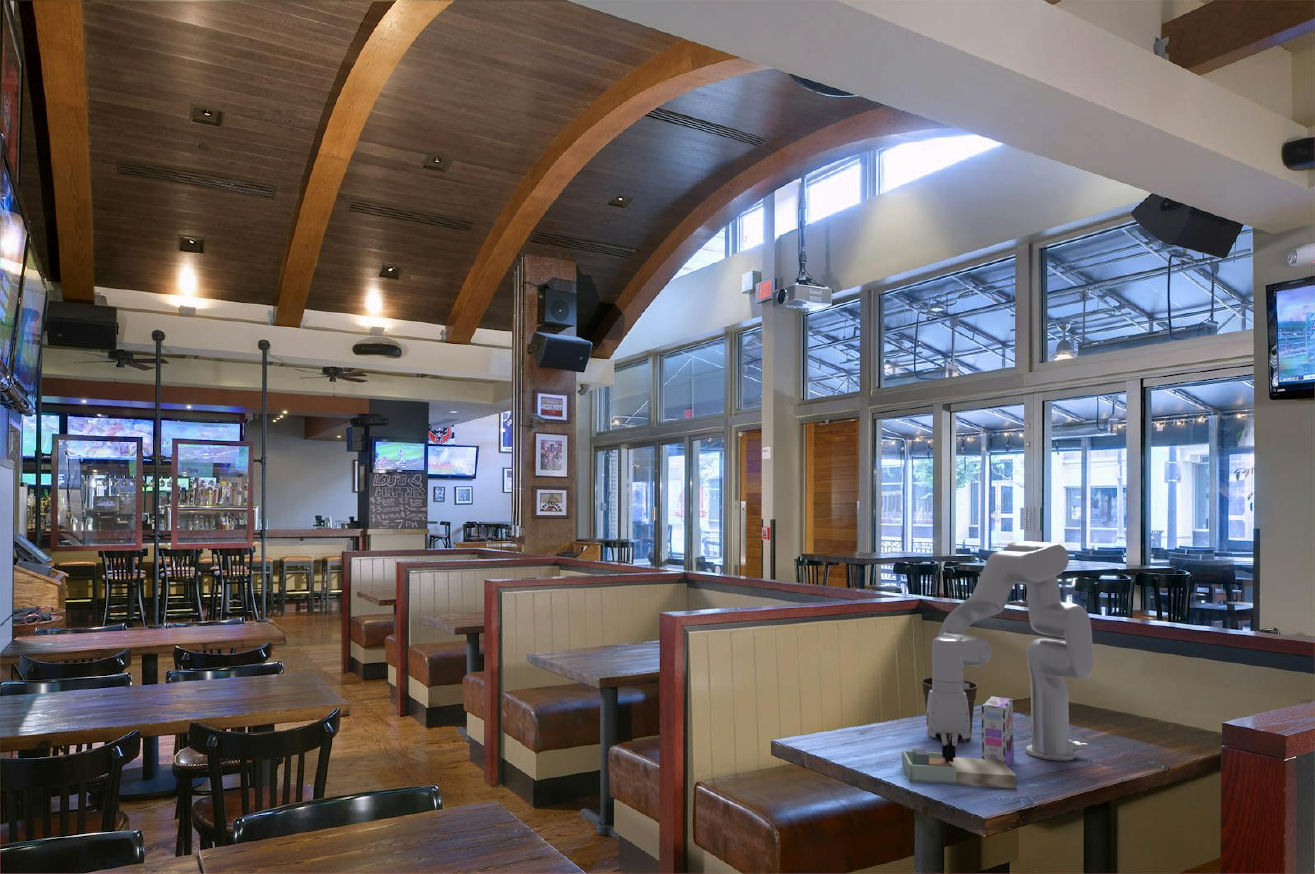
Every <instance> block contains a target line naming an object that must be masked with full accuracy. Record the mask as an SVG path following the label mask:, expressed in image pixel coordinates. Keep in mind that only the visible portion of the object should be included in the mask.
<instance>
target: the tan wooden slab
mask: <svg viewBox="0 0 1315 874" xmlns="http://www.w3.org/2000/svg"><path fill="white" fill-rule="evenodd" d="M948 763H949V764H950V767H956V777H957V785H956V786H973V787H974V786H975V787H988V788H989V787H990V788H993V787H994V788H1004V789H1005V788H1007V789H1008V788H1009V789H1017V775H1016V774H1015V773H1014V771H1013V770H1011V768H1010V766H1009V767H1008V766H1007V765H1006V764H1005V763H1004V762H1003V761H1002V760H994V759H982V758H975V757H974V758H973V757H957V756H955V758H953V762H950V761H949V762H948Z"/></svg>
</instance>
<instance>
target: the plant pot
mask: <svg viewBox="0 0 1315 874" xmlns="http://www.w3.org/2000/svg"><path fill="white" fill-rule="evenodd" d="M963 681H964V682H966V683H969V688H966V689H965V690H964V692H965V693H966V696H967V700H968V707H969V716H970V735H971V737H970V738H966V739H962V740H961V741H959V742H958V743H959V744H962V743H966V742H970V741H971V740H972V730H973V720H974V719H973V717H974V709H975V701H976V699H977V690H978V688H979V685H978V683H976V682H974V681H971V680H966V679H963ZM920 683H921V684H922V691H923V695H924V701H925V711H926V714H927V701H928V694H929V690H933V684H932V677H924V678H922V679H921V680H920ZM950 735H951V733H946V739H947V742H948V743H949V741H950ZM929 738H931V739H934V740H936V739H937V738H935V737H931V736H929ZM937 740H938V739H937ZM958 743H957V744H958Z"/></svg>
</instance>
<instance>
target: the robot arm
mask: <svg viewBox="0 0 1315 874" xmlns="http://www.w3.org/2000/svg"><path fill="white" fill-rule="evenodd" d="M1069 561H1070V556H1069V553H1068V550H1067V549H1066V548H1065V546H1063V545H1062V544H1059V543H1055V542H1043V541H1027V540H1022V541H1021V540H1020V541H1019V540H1018V541H1013V542H1010V543H1008V544H1007V545H1006V547H1005V549H1004V550H998V551H995V552H992V553H991V554H990V555H989V556H988V558H987V560H986V563H985V565H984V567H983V569H982V571H981V574H980V576H979V578H978V581H977V582H976V585H975V587H974V590H973V592H972V594H971V595H970V597H968V598H967V599H966V600H964V601H963V602H961V603H960V604H959V605H957V606H956V607H955V608H954V609H953V610H952V611H951V612H949V613H948V614H947V616H946V617H945V619H944V621H943V623H942V626H941V627H940V630H939V633H938V636H937V637H935V638H933V640H932V641H931V652H932V653H931V657H932V658H931V665H932V667H931V668H932V670H931V671H932V673H931V674H932V677H931V678H932V684H933V690H929V694H928V701H927V713H926V716H925V717H926V733H925V734H926V735H927V736H929V737H930V736H931V737H935V738H937V740H938V741H939V742H940V743H941V753H942V757H944V759H945V760H946V762H949V761H950V762H953V758H955V757H956V747H957V745H958V742H959V741H961V740H962V739H966V738H970V737H971V738H972V734H971V735H970V716H969V707H968V700H967V696H966V693H965V692H964V690H965V689H966V688H969V683H966V682H964V681H963V680H964V666H967V667H969V666H971V667H981V666H984V665H986V664H988V663H989V662H990V660H991V658H992V655H993V649H992V646H991V645H990V643H989V642H988V641H987V640H986V639H984V638H982V637H979V636H975V635H970V634H969V635H968V634H964V632H965V631H966V630H967V628H968V627H970V626H971V625H973V624H974V623H976V622H978V621H981V620H983V619H987V618H989V617H993V616H996V615H997V614H1000V613H1002V612H1003V611H1004V609H1005V606H1006V604H1007V602H1008V599H1009V597H1010V595H1011V592H1012V590H1013V588H1014V586H1015V584H1022V585H1025V586H1026V593H1027V605H1028V606H1027V607H1028V617H1029V619H1028V620H1029V623H1030V624H1029V625H1030V627H1031V629H1032V630H1033V631H1034V632H1036V633H1037V634H1042V635H1046V636H1051V637H1058V638H1063V639H1065V641H1063V640H1058V639H1052V638H1051V639H1050V638H1045V637H1044V638H1037V639H1036V638H1035V639H1033V640H1032V641H1030V642H1029V644H1028V645H1027V647H1026V650H1025V656H1026V657H1025V658H1026V664H1027V668H1028V672H1029V673H1028V674H1029V678H1030V679H1029V681H1030V706H1031V707H1030V719H1031V727H1030V728H1031V744H1029V745H1027V746H1026V747H1025V751H1026V753H1027V754H1029V756H1032V757H1035V758H1039V759H1044V760H1049V761H1056V762H1058V761H1059V762H1061V761H1062V762H1063V761H1072V760H1074V759H1076V757H1077V754H1076V752H1077V750H1078V751H1081V752H1082V751H1083V752H1084V751H1085V752H1088V751H1089V745H1088V743H1087V742H1086V743H1085V742H1084V743H1083V742H1081V743H1080V741H1073V740H1072V739H1070V722H1069V720H1070V719H1069V717H1070V716H1069V691H1068V686H1067V684H1066V683H1065V680H1064V678H1068V679H1073V680H1079V681H1081V680H1086V679H1088V678H1089V677H1090V676H1091V675H1092V673H1093V670H1094V663H1095V662H1094V660H1095V658H1094V645H1093V632H1092V622H1091V618H1090V615H1089V613H1088V612H1087V610H1086V609H1085V608H1084V607H1083V606H1082V605H1080V604H1077V603H1071V602H1063V601H1062V598H1061V597H1062V596H1061V587H1060V583H1059V579H1058V578H1057V576H1059V575H1062V573H1063V572H1064V571H1065V570H1067V567H1068V565H1069ZM946 733H951V735H950V741H949V742H947V739H946ZM931 737H930V738H931Z"/></svg>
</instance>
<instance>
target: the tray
mask: <svg viewBox="0 0 1315 874" xmlns="http://www.w3.org/2000/svg"><path fill="white" fill-rule="evenodd" d="M901 751H902V752H901V759H902V762H901V764H902V765H901V766H902V769H903V770H904V772H905V775H906V776H907V777H908V780H909V782H911V783H922V784H923V783H924V784H938V785H939V784H941V785H955V786H958V785H957V777H956V767H945V766H927V765H913V750H901ZM926 752H927V753H928V754H929V758H935V759H944V757H942V752H937V751H936V752H935V751H926Z"/></svg>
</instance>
